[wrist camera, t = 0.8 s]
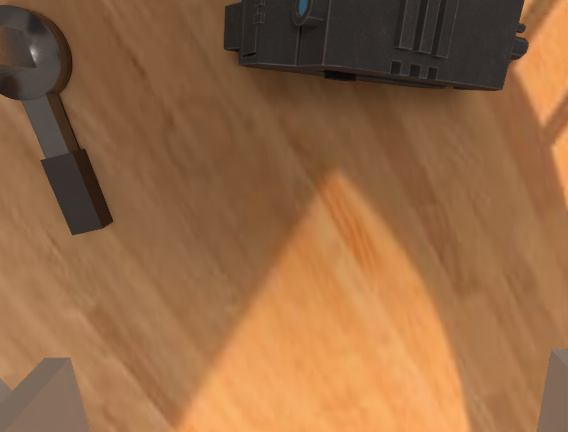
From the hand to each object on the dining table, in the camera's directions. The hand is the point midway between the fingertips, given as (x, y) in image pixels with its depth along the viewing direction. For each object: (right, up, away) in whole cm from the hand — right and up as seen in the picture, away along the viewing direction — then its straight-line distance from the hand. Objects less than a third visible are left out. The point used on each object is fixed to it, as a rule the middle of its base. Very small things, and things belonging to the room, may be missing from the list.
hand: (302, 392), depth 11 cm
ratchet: (-20, +13, +23) cm, 34 cm away
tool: (+6, +19, +20) cm, 28 cm away
